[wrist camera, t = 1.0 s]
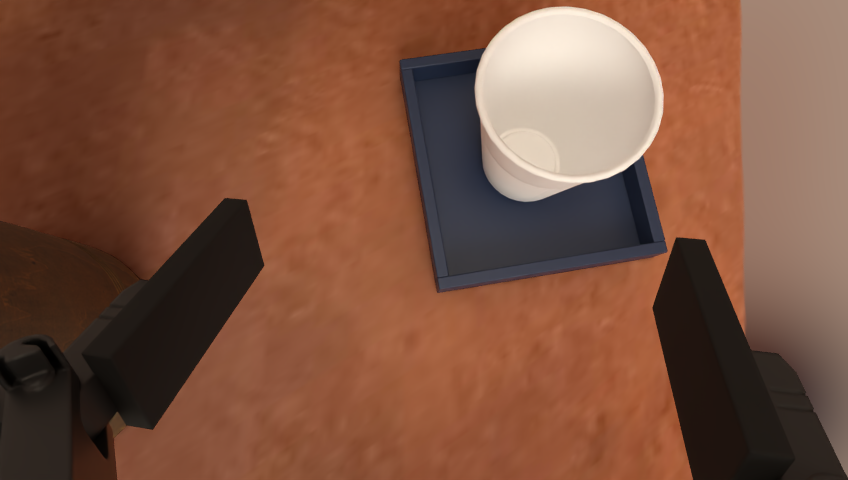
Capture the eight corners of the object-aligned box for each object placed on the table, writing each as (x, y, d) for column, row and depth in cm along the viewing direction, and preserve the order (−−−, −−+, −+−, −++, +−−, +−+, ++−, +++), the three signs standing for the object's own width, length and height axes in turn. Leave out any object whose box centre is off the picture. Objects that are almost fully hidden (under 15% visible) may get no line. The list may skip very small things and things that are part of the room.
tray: (399, 75, 39) (399, 59, 37) (599, 48, 40) (610, 30, 37) (437, 293, 36) (439, 289, 33) (652, 257, 37) (668, 251, 34)
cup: (589, 102, 38) (659, 9, 28) (593, 231, 37) (670, 186, 26) (457, 96, 38) (476, 0, 27) (454, 226, 36) (473, 178, 26)
